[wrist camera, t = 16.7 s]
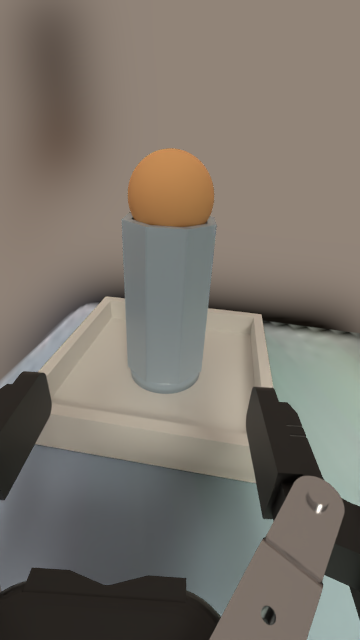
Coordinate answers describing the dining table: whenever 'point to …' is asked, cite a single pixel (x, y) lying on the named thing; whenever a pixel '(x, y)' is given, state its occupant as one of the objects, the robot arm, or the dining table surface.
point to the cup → (166, 301)
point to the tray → (157, 397)
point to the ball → (171, 190)
